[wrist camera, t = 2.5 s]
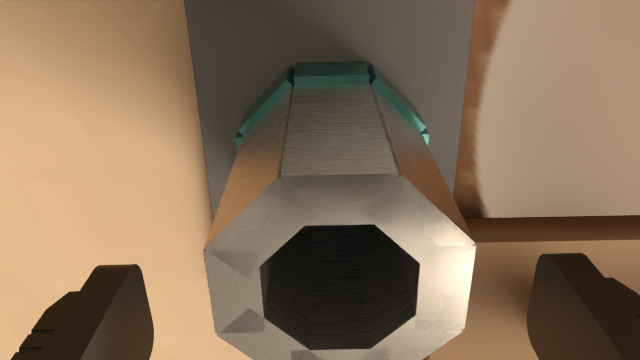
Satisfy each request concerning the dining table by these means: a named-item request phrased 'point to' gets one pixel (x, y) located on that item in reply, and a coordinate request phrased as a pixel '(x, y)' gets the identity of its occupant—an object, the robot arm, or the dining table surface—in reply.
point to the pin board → (532, 275)
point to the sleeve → (337, 226)
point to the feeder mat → (327, 46)
